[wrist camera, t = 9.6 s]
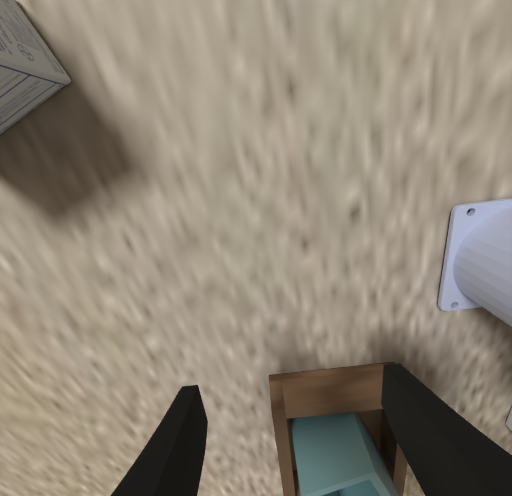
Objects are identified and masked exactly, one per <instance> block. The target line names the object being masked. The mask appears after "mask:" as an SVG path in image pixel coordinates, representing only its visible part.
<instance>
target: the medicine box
mask: <svg viewBox="0 0 512 496" xmlns="http://www.w3.org/2000/svg"><path fill="white" fill-rule="evenodd" d="M70 82H71V79H70V78H69V76H68V75H67V73H66V72H65V71H64V69H63V68H62V66H61V65H60V64H59V62H58V61H57V59H56V58H55V57H54V55H53V54H52V52H51V51H50V49H49V48H48V47H47V45H46V44H45V42H44V41H43V40H42V38H41V37H40V35H39V34H38V33H37V31H36V30H35V28H34V27H33V26H32V24H31V23H30V21H29V20H28V19H27V17H26V16H25V14H24V13H23V12H22V10H21V9H20V7H19V6H18V5H17V3H16V2H15V0H0V134H1V133H3V132H4V131H5V130H7V129H8V128H9V127H11V126H12V125H13V124H15V123H16V122H17V121H19V120H20V119H21V118H23V117H24V116H25V115H26V114H28V113H29V112H30V111H32V110H33V109H34V108H36V107H37V106H38V105H40V104H41V103H42V102H44V101H45V100H46V99H48V98H49V97H50V96H52V95H53V94H54V93H56V92H57V91H58V90H60V89H61V88H62V87H64V86H65V85H67V84H69V83H70Z"/></svg>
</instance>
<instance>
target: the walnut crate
mask: <svg viewBox="0 0 512 496" xmlns="http://www.w3.org/2000/svg"><path fill="white" fill-rule="evenodd" d="M390 364H395V363H394V362H389V363H380V364H370V365H361V366H351V367H342V368H333V369H323V370H314V371H305V372H295V373H286V374H277V375H269V383H270V396H271V409H272V417H273V424H274V431H275V438H276V445H277V452H278V459H279V466H280V472H281V479H282V486H283V493H284V496H301V493H300V486H299V479H298V472H297V465H296V458H295V451H294V443H293V436H292V429H291V422H290V418H299V417H309V416H318V415H328V414H338V413H348V412H358V413H359V415H360V417H361V418H362V420H363V422H364V423H365V425H366V427H367V428H368V430H369V432H370V433H371V435H372V437H373V438H374V440H375V442H376V443H377V445H378V448H379V450H380V452H381V455H382V457H383V460H384V462H385V464H386V467H387V469H388V471H389V474H390V476H391V479H392V481H393V483H394V486H395V488H396V490H397V493H398V495H399V496H403V492H404V485H405V477H406V470H407V462H408V461H407V460H406V458H405V456H404V454H403V452H402V450H401V448H400V446H399V444H398V442H397V440H396V438H395V436H394V434H393V432H392V430H391V427H390V425H389V422H388V420H387V418H386V415H385V412H384V410H383V407H382V405H381V396H382V382H383V367H384V365H390Z"/></svg>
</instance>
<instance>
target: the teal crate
mask: <svg viewBox="0 0 512 496" xmlns="http://www.w3.org/2000/svg"><path fill="white" fill-rule="evenodd" d="M290 422H291V429H292V436H293V443H294V451H295V458H296V465H297V472H298V479H299V486H300V493H301V496H399V495H398V493H397V490H396V488H395V486H394V483H393V481H392V479H391V476H390V474H389V471H388V469H387V467H386V464H385V462H384V460H383V457H382V455H381V452H380V450H379V448H378V445H377V443H376V442H375V440H374V438H373V437H372V435H371V433H370V432H369V430H368V428H367V427H366V425H365V423H364V422H363V420H362V418H361V417H360V415H359V413H358V412H348V413H338V414H328V415H318V416H309V417H299V418H290Z"/></svg>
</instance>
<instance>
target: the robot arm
mask: <svg viewBox="0 0 512 496" xmlns="http://www.w3.org/2000/svg"><path fill="white" fill-rule="evenodd" d="M469 209H470V212H469V213H468V214H467V211H468V210H469ZM453 302H454V303H453ZM452 303H453V304H452ZM451 304H452V305H451ZM438 307H439V308H440V309H441V310H443V311H452V310H461V309H470V308H479V307H484V308H485V309H486V310H488V311H489V312H491V313H492V314H494V315H495V316H497V317H498V318H499V319H501V320H502V321H504V322H505V323H507V324H508V325H509V326H511V327H512V198H508V199H500V200H491V201H483V202H475V203H467V204H460V205H457V206H455V207H454V208H453V209H452V212H451V217H450V224H449V230H448V237H447V244H446V251H445V257H444V264H443V271H442V278H441V285H440V291H439V298H438ZM381 405H382V407H383V410H384V412H385V415H386V418H387V420H388V422H389V425H390V427H391V430H392V432H393V434H394V436H395V438H396V440H397V442H398V444H399V446H400V448H401V450H402V452H403V454H404V456H405V458H406V460H407V461H408V463H409V465H410V467H411V469H412V471H413V473H414V475H415V477H416V479H417V480H418V482H419V484H420V486H421V488H422V490H423V492H424V494H425V496H512V455H510V454H509V453H508V452H506V451H505V450H504V449H502V448H501V447H500V446H498V445H497V444H496V443H494V442H493V441H492V440H490V439H489V438H488V437H487V436H485V435H484V434H483V433H481V432H480V431H479V430H478V429H476V428H475V427H474V426H473V425H471V424H470V423H469V422H468V421H466V420H465V419H464V418H463V417H461V416H460V415H459V414H458V413H457V412H455V411H454V410H453V409H452V408H451V407H449V406H448V405H447V404H446V403H445V402H443V401H442V400H441V399H440V398H439V397H438V396H436V395H435V394H434V393H433V392H432V391H431V390H429V389H428V388H427V387H426V386H425V385H424V384H423V383H421V382H420V381H419V380H418V379H417V378H416V377H415V376H414V375H412V374H411V373H410V372H409V371H408V370H407V369H406V368H405V367H403V366H402V365H401V364H390V365H384V367H383V382H382V396H381ZM207 424H208V420H207V417H206V413H205V409H204V406H203V402H202V398H201V395H200V391H199V387H198V385H193V386H184V387H182V388H181V389H180V391H179V392H178V394H177V396H176V397H175V399H174V401H173V403H172V404H171V406H170V408H169V409H168V411H167V413H166V414H165V416H164V418H163V419H162V421H161V423H160V424H159V426H158V427H157V429H156V431H155V432H154V434H153V435H152V437H151V438H150V440H149V441H148V443H147V445H146V446H145V448H144V449H143V451H142V452H141V454H140V455H139V456H138V458H137V459H136V461H135V462H134V464H133V465H132V467H131V468H130V469H129V471H128V472H127V474H126V475H125V477H124V478H123V479H122V481H121V482H120V484H119V485H118V486H117V488H116V489H115V490H114V492H113V493H112V494H111V496H197V493H198V488H199V482H200V477H201V472H202V466H203V461H204V455H205V447H206V437H207Z"/></svg>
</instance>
